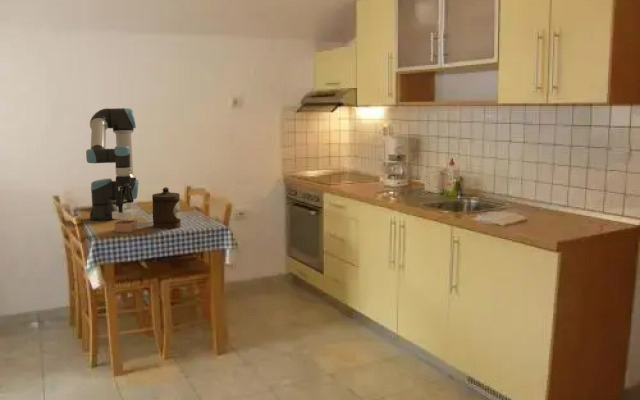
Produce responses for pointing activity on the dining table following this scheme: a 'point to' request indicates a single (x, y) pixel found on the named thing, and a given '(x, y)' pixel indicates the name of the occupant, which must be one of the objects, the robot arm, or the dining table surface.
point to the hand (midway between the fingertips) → (125, 216)
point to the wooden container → (166, 210)
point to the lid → (126, 214)
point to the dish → (126, 226)
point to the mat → (143, 224)
